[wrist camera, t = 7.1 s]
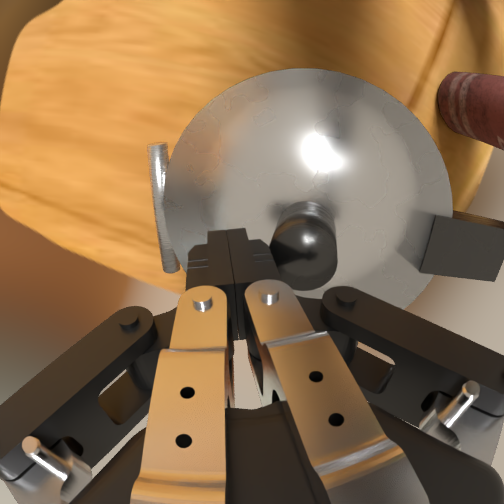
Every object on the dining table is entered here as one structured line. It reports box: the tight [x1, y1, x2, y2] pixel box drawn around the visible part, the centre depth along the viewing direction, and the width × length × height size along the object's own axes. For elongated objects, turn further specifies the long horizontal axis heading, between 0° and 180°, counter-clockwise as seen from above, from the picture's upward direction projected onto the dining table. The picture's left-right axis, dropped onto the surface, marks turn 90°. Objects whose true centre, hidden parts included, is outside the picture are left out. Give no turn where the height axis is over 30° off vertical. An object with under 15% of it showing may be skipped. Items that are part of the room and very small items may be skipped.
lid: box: [147, 68, 504, 309], centre depth 12 cm, size 14×18×4 cm
